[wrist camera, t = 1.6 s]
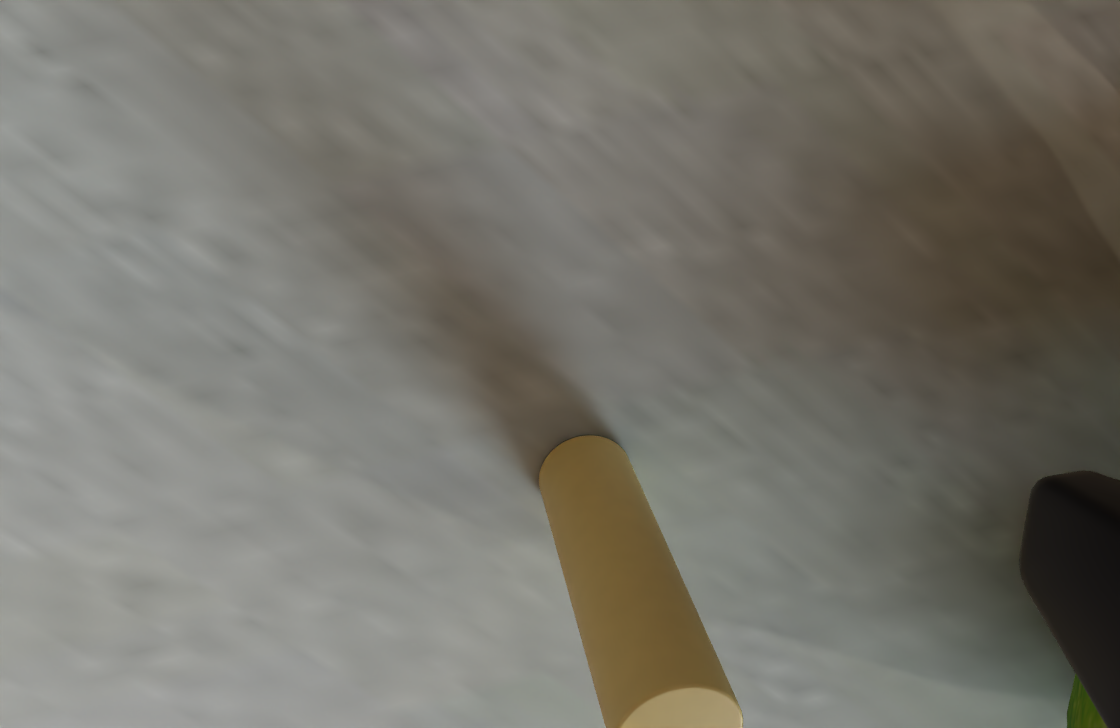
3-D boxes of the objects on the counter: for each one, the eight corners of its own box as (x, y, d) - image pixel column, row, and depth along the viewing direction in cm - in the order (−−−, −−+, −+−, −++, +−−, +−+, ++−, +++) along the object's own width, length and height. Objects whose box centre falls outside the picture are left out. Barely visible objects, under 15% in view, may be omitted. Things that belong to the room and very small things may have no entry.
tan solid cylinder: (644, 446, 23) (766, 696, 16) (610, 522, 23) (711, 793, 16) (557, 424, 22) (643, 676, 15) (525, 503, 23) (592, 778, 16)
